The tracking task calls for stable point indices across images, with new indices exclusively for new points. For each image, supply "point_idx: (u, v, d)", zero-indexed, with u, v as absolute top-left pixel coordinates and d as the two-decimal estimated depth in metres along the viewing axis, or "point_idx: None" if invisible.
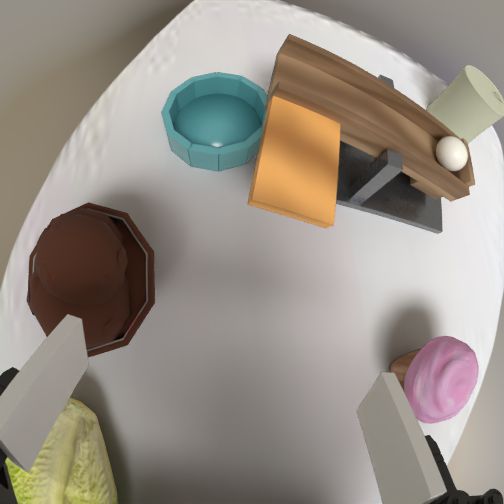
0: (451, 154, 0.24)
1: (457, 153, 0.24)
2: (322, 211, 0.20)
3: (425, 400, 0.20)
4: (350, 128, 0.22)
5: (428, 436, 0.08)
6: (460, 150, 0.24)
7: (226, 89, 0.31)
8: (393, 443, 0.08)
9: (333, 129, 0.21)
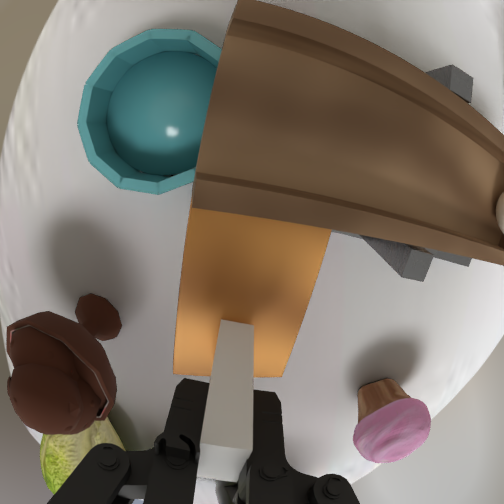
0: None
1: None
2: (267, 368, 0.15)
3: (364, 452, 0.23)
4: None
5: (273, 393, 0.10)
6: None
7: (175, 47, 0.17)
8: None
9: (314, 242, 0.13)
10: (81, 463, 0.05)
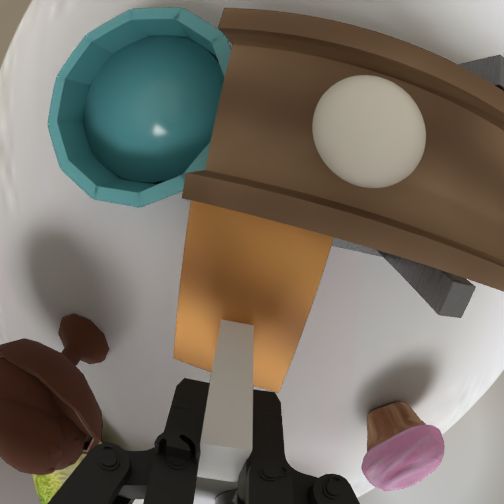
0: None
1: None
2: (263, 378, 0.14)
3: (373, 481, 0.19)
4: None
5: (272, 393, 0.10)
6: None
7: (162, 30, 0.13)
8: None
9: (313, 249, 0.12)
10: (82, 463, 0.05)
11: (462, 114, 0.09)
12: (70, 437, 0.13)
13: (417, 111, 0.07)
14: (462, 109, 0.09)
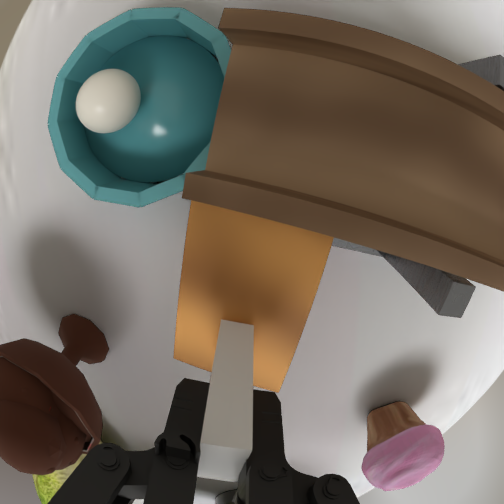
0: None
1: None
2: (263, 378, 0.14)
3: (373, 481, 0.19)
4: None
5: (272, 393, 0.10)
6: None
7: (162, 30, 0.13)
8: None
9: (313, 249, 0.12)
10: (82, 463, 0.05)
11: (462, 114, 0.09)
12: (70, 437, 0.13)
13: (93, 80, 0.12)
14: (462, 109, 0.09)
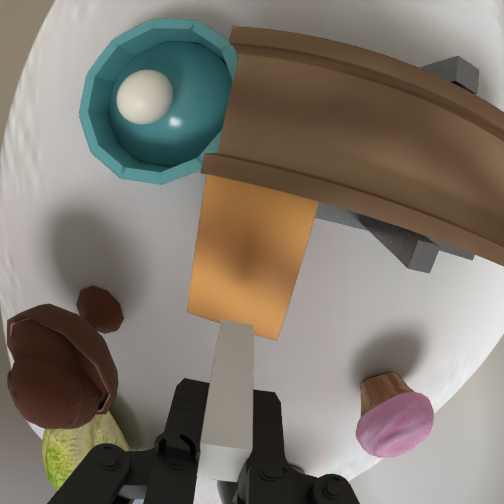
0: None
1: None
2: (263, 327, 0.18)
3: (367, 447, 0.23)
4: None
5: (273, 393, 0.10)
6: None
7: (178, 37, 0.16)
8: None
9: (302, 212, 0.15)
10: (82, 462, 0.05)
11: (425, 106, 0.12)
12: (88, 393, 0.17)
13: (146, 80, 0.15)
14: (425, 102, 0.12)
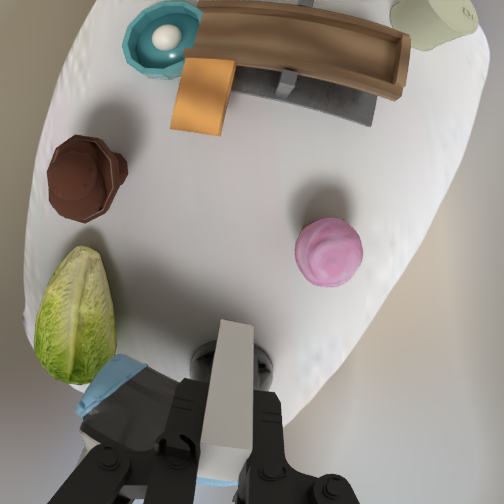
0: None
1: None
2: (210, 128, 0.30)
3: (303, 264, 0.35)
4: (243, 61, 0.27)
5: (273, 393, 0.10)
6: (152, 40, 0.29)
7: (176, 11, 0.29)
8: None
9: (227, 67, 0.27)
10: (82, 462, 0.05)
11: (287, 20, 0.25)
12: (99, 183, 0.29)
13: (176, 29, 0.29)
14: (288, 18, 0.25)
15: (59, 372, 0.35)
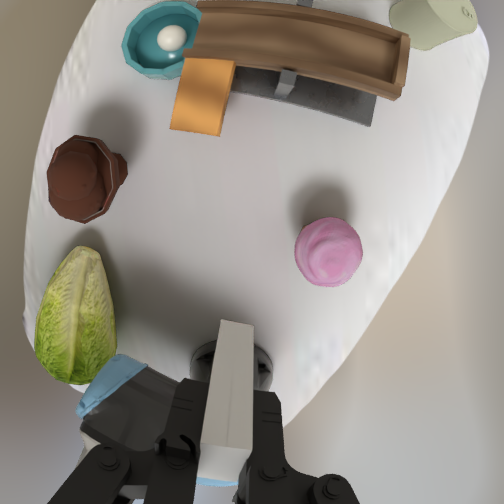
0: None
1: (158, 42, 0.29)
2: (209, 128, 0.30)
3: (303, 264, 0.35)
4: (242, 61, 0.27)
5: (272, 393, 0.10)
6: (157, 39, 0.29)
7: (175, 11, 0.29)
8: None
9: (226, 67, 0.27)
10: (82, 463, 0.05)
11: (287, 20, 0.25)
12: (99, 183, 0.29)
13: (185, 31, 0.29)
14: (287, 18, 0.25)
15: (59, 372, 0.35)
